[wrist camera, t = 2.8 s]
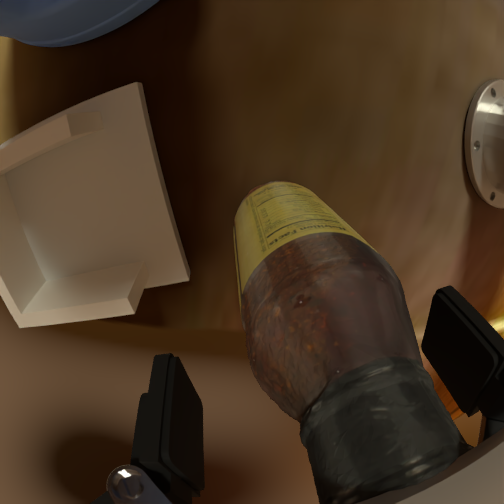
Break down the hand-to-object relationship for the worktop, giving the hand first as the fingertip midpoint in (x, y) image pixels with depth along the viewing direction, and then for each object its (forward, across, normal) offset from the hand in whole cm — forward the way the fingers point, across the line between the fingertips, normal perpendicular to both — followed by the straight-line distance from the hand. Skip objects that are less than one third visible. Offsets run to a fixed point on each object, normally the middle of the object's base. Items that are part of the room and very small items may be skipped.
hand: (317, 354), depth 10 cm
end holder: (+13, +14, -4) cm, 19 cm away
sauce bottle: (+13, -1, 0) cm, 13 cm away
